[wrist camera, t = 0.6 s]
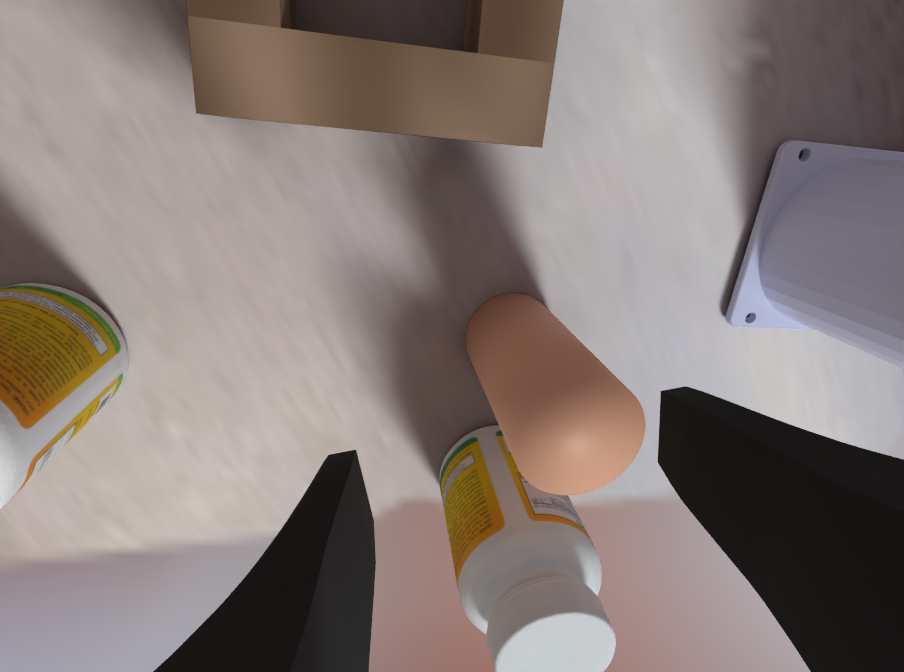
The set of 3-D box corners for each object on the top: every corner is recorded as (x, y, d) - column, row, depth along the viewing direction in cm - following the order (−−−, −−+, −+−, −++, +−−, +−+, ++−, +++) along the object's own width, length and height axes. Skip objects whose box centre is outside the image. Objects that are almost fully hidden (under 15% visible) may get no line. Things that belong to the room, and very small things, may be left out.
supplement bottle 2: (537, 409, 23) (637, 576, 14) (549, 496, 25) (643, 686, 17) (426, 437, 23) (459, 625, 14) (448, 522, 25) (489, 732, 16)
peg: (560, 294, 21) (659, 379, 14) (545, 377, 23) (628, 493, 15) (470, 290, 21) (524, 377, 13) (460, 376, 22) (504, 497, 15)
